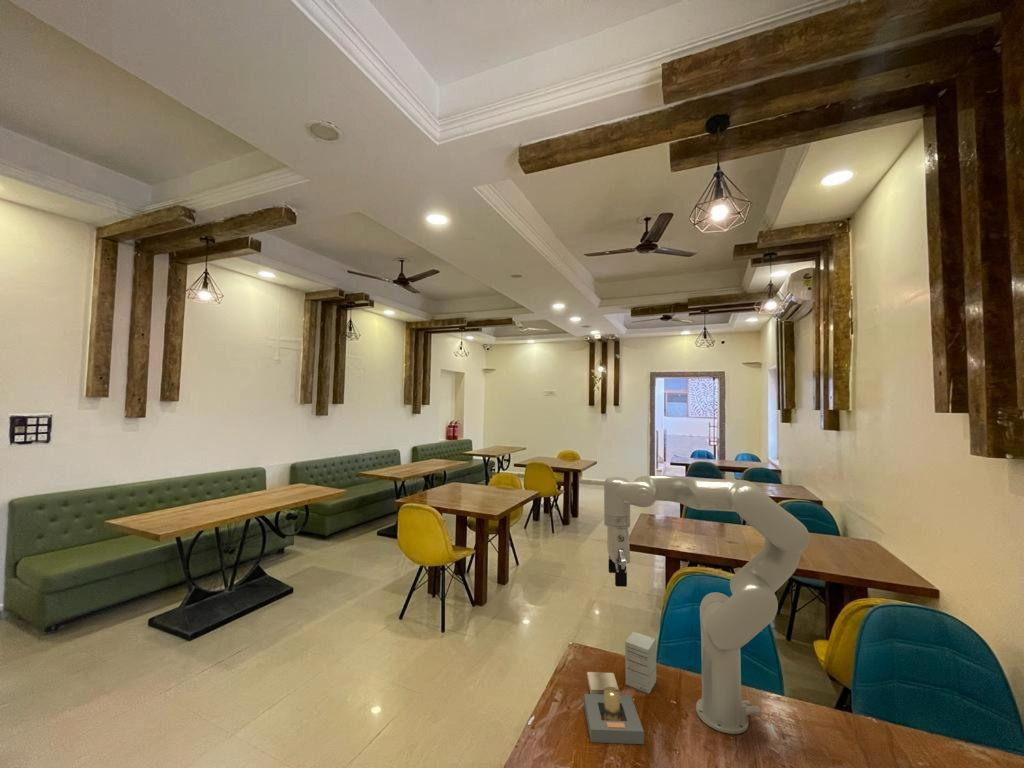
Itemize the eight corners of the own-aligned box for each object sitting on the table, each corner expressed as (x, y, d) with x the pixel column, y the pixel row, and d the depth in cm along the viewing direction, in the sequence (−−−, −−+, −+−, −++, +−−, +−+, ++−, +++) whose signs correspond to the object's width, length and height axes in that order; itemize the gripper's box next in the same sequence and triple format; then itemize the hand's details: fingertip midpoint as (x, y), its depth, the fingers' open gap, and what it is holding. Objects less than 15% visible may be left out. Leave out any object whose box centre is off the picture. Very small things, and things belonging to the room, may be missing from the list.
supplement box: (633, 672, 132) (633, 630, 132) (657, 681, 127) (656, 638, 128) (624, 684, 126) (624, 641, 127) (649, 694, 121) (649, 649, 122)
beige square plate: (613, 679, 128) (613, 672, 128) (619, 697, 120) (619, 690, 120) (587, 678, 128) (587, 672, 128) (591, 696, 120) (591, 689, 120)
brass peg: (618, 717, 112) (617, 686, 113) (621, 729, 108) (621, 697, 109) (602, 717, 112) (602, 686, 113) (605, 728, 108) (605, 696, 109)
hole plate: (631, 706, 116) (631, 694, 117) (643, 744, 103) (643, 730, 104) (583, 705, 117) (583, 693, 117) (590, 742, 104) (590, 728, 104)
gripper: (637, 528, 116) (637, 592, 115) (623, 513, 133) (623, 568, 132) (610, 528, 116) (610, 591, 115) (599, 512, 134) (599, 567, 133)
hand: (617, 579), depth 124 cm, fingers open, 9 cm apart
